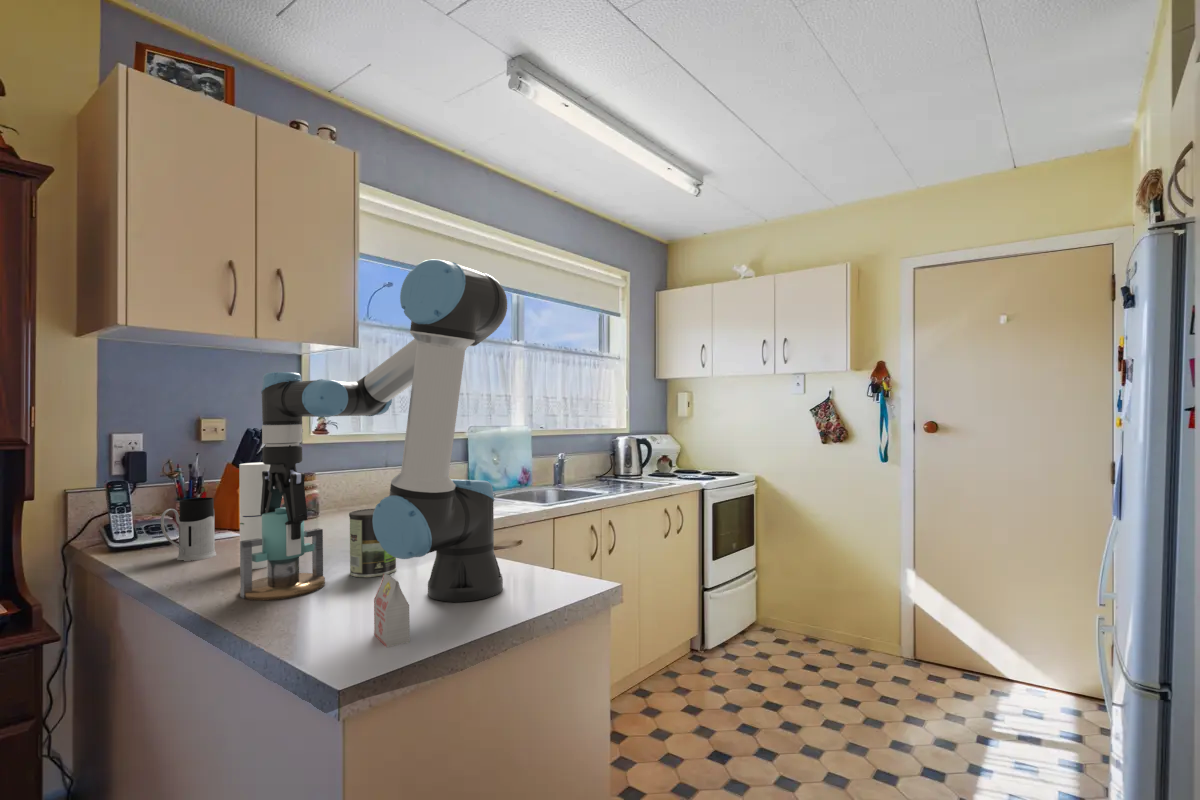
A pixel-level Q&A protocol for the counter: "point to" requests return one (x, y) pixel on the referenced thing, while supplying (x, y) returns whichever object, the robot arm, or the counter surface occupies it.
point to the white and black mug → (194, 529)
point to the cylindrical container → (251, 505)
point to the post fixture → (281, 573)
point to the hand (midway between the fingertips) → (283, 552)
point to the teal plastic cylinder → (277, 537)
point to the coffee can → (367, 548)
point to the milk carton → (391, 613)
